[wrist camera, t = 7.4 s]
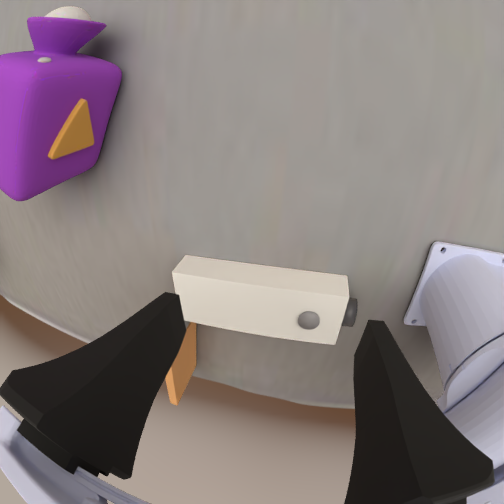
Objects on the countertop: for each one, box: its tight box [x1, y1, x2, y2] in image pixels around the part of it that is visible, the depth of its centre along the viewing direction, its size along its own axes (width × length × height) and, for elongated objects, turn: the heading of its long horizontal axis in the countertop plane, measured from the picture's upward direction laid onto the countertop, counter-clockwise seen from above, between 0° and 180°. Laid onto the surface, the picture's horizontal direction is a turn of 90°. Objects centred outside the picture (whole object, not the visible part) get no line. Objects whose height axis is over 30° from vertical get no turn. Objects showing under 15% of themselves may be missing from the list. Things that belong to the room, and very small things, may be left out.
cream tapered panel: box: [172, 255, 357, 345], centre depth 21 cm, size 14×5×3 cm, turn 89°
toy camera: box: [0, 6, 122, 201], centre depth 12 cm, size 11×14×10 cm
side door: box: [165, 320, 196, 405], centre depth 25 cm, size 10×1×6 cm, turn 171°
